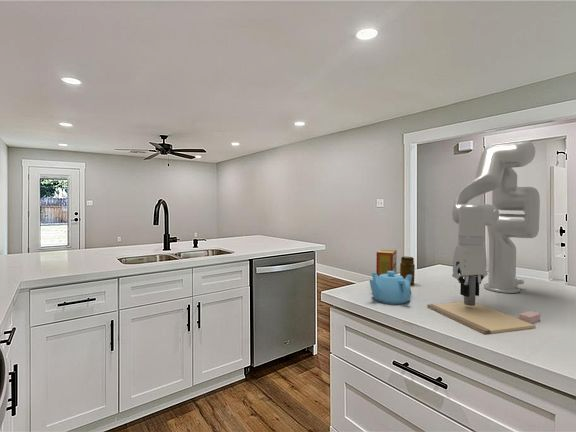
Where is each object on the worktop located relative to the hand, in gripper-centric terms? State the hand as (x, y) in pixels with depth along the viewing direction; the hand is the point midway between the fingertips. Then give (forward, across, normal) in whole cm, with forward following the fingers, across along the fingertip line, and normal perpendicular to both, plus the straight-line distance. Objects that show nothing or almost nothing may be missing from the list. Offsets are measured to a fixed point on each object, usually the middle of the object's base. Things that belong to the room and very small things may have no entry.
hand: (469, 294), depth 110 cm
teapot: (+6, +19, -18) cm, 27 cm away
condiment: (+5, -1, -36) cm, 37 cm away
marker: (+3, 0, 0) cm, 3 cm away
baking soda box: (+5, +11, -34) cm, 36 cm away
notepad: (+5, +3, +6) cm, 8 cm away
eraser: (+6, -10, +13) cm, 17 cm away
